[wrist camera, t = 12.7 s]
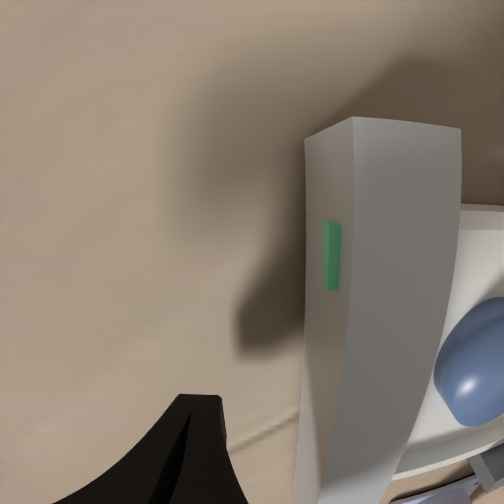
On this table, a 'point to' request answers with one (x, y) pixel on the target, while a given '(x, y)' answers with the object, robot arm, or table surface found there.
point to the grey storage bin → (489, 467)
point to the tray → (387, 305)
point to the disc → (474, 365)
